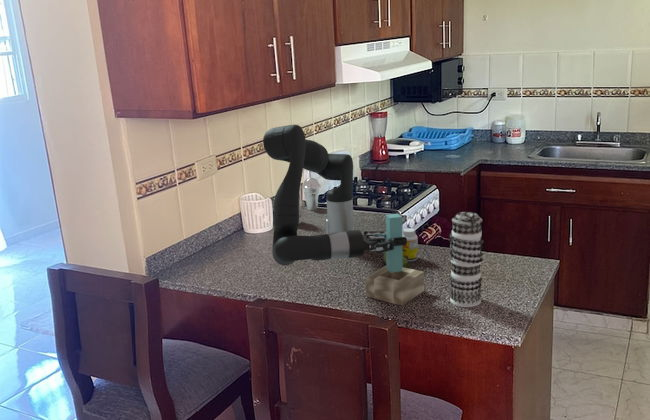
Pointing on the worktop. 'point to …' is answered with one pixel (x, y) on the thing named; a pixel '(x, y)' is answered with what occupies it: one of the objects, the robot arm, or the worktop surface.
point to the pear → (404, 261)
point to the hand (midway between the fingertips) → (403, 238)
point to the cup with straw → (311, 192)
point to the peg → (394, 255)
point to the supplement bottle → (410, 245)
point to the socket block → (395, 285)
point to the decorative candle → (466, 259)
